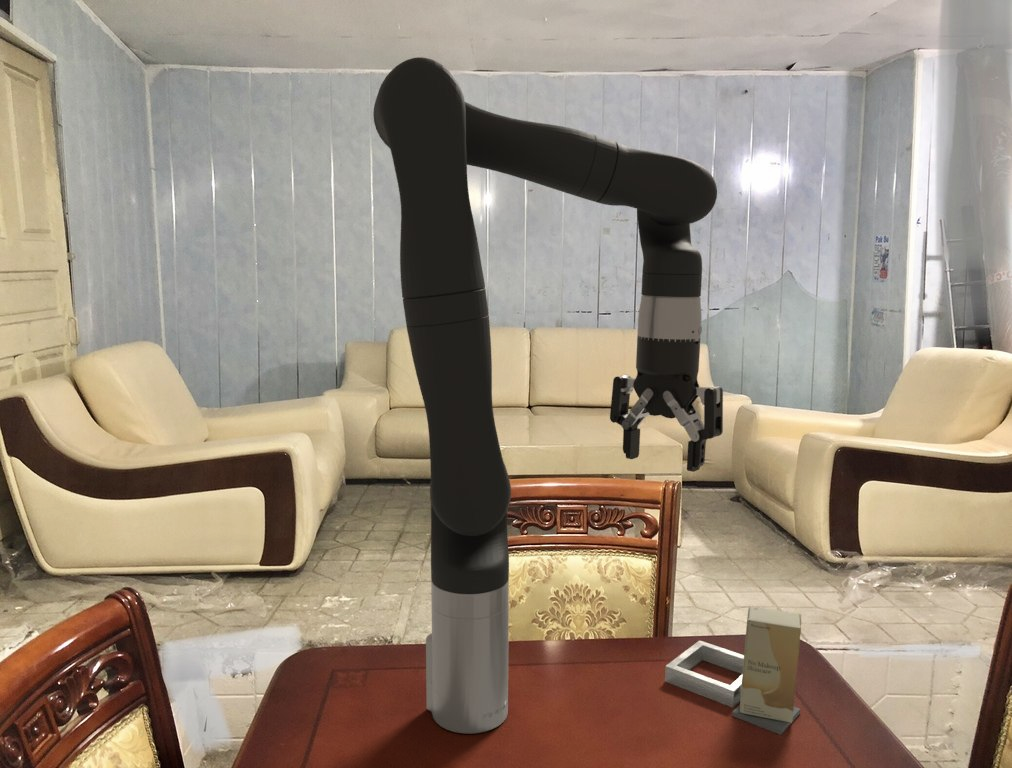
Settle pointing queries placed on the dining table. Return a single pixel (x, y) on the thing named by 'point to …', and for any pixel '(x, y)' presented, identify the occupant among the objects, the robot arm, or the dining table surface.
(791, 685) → the skincare box
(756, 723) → the pad
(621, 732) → the dining table surface
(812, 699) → the dining table surface
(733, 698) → the grey square frame
